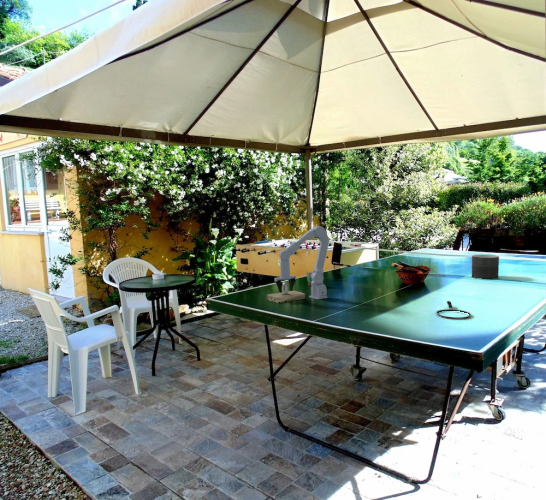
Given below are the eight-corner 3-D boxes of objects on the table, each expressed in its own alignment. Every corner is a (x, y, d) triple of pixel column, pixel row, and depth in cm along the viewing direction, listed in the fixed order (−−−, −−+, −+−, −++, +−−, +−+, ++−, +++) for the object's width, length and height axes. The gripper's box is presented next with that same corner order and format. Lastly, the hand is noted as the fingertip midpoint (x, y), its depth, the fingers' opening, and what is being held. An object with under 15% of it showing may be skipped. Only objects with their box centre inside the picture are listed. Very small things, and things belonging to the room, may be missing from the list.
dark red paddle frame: (431, 306, 245) (431, 300, 244) (463, 306, 241) (463, 300, 240) (438, 319, 218) (438, 312, 217) (473, 320, 214) (474, 313, 213)
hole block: (304, 298, 271) (304, 293, 271) (276, 303, 261) (276, 298, 261) (294, 295, 282) (294, 290, 281) (267, 299, 272) (266, 294, 271)
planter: (466, 276, 329) (466, 255, 328) (485, 274, 335) (486, 254, 333) (484, 280, 312) (484, 258, 311) (504, 278, 318) (504, 256, 316)
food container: (303, 286, 308) (303, 272, 307) (306, 285, 314) (306, 271, 313) (319, 287, 303) (319, 273, 302) (323, 286, 308) (322, 272, 307)
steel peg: (289, 299, 271) (288, 283, 270) (284, 299, 270) (284, 283, 268) (286, 298, 274) (286, 282, 272) (282, 298, 272) (282, 282, 271)
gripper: (291, 267, 276) (292, 289, 278) (271, 270, 269) (272, 292, 271) (297, 269, 270) (298, 290, 272) (277, 271, 263) (278, 294, 265)
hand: (285, 291), depth 271 cm, fingers open, 7 cm apart
